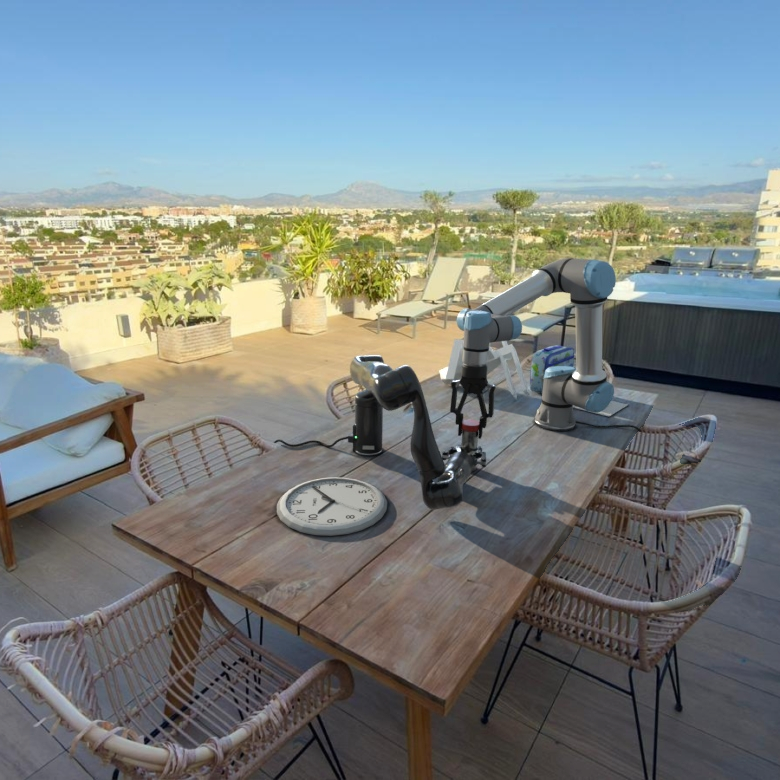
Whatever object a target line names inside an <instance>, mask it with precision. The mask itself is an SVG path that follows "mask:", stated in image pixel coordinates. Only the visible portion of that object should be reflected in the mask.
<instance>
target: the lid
mask: <svg viewBox="0 0 780 780" xmlns="http://www.w3.org/2000/svg"><path fill="white" fill-rule="evenodd" d="M479 421H480V420H476V419H470V418H469V419H463V421H462V424H461V428H462V429H463V430H465V431H470V432H475V431H478V430H479ZM478 432H479V431H478Z"/></svg>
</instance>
